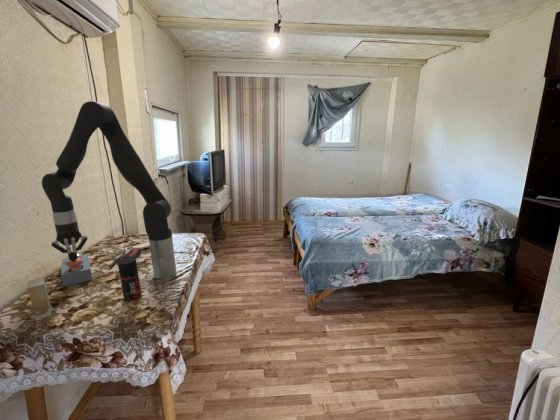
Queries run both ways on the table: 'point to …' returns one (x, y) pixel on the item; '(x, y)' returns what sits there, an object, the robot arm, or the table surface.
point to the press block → (76, 272)
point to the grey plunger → (77, 256)
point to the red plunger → (74, 264)
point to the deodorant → (129, 279)
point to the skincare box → (39, 298)
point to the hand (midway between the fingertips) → (74, 260)
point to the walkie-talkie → (127, 255)
